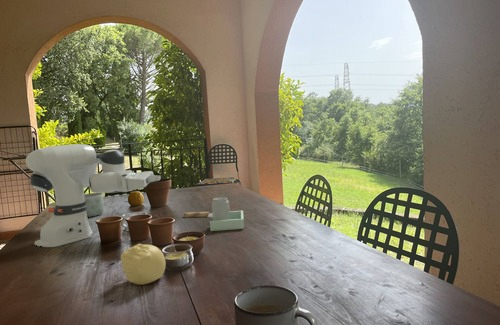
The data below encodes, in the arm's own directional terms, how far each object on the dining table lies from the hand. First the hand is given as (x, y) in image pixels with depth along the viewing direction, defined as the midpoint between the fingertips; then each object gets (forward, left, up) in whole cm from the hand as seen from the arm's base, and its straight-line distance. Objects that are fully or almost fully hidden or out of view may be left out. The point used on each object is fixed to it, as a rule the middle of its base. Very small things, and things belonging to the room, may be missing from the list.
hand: (160, 177), depth 168 cm
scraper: (+23, -2, -23) cm, 33 cm away
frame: (+13, -24, -22) cm, 35 cm away
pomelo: (-47, -33, -23) cm, 61 cm away
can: (+12, -22, -23) cm, 34 cm away
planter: (+10, +58, -23) cm, 63 cm away
